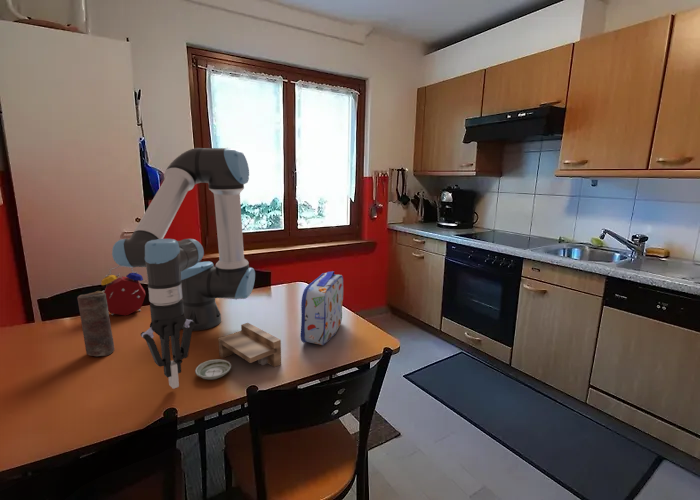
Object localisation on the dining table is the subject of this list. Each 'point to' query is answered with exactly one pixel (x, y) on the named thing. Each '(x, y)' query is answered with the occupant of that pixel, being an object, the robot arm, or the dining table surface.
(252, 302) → the dining table surface
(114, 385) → the dining table surface
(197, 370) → the saucer
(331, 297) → the lunch box
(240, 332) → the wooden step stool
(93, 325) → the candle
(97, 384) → the dining table surface
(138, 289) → the alarm clock
